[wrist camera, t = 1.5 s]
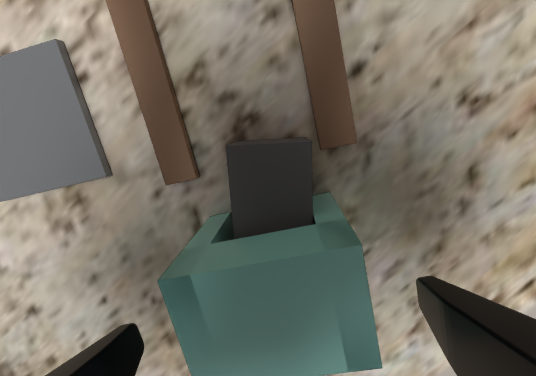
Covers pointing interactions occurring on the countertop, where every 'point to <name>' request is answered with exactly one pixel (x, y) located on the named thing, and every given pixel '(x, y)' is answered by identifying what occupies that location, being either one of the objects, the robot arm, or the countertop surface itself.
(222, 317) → the notched teal box
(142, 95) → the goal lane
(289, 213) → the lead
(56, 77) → the coaster
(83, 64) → the countertop surface
